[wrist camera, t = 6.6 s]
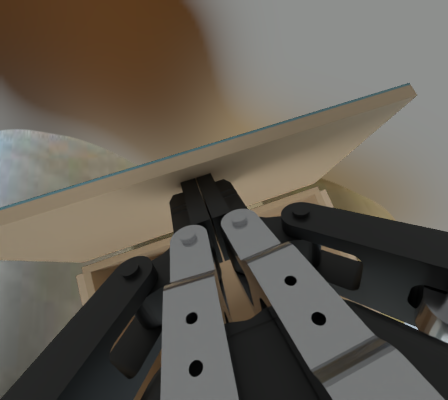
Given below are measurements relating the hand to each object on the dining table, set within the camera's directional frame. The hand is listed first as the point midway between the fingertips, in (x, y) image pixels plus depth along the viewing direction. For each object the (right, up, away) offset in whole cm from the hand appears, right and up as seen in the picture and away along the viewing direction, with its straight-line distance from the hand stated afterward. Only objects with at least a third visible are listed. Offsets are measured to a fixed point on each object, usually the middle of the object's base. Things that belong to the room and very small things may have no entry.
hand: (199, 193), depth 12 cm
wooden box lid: (0, -1, +4) cm, 4 cm away
